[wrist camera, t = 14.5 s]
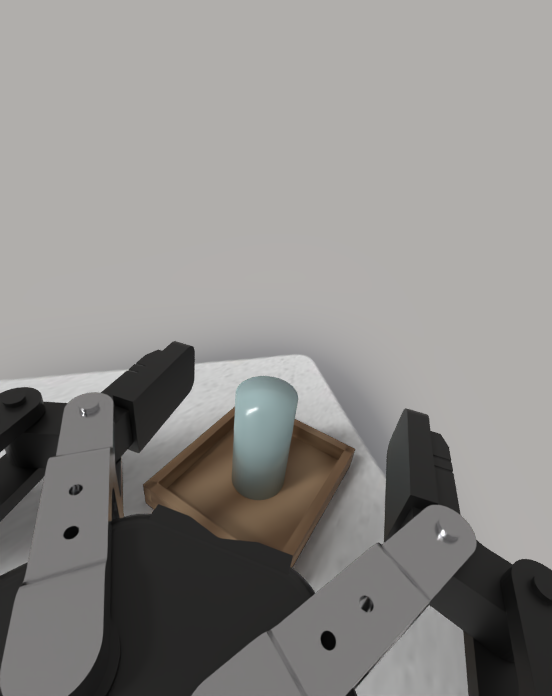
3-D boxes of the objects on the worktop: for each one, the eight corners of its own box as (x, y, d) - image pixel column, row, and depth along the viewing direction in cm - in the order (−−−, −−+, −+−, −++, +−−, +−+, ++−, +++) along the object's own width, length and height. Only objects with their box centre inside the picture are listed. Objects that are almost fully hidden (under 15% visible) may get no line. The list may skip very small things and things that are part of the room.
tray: (145, 502, 37) (143, 484, 35) (246, 411, 50) (247, 395, 49) (273, 600, 30) (276, 583, 29) (349, 465, 44) (355, 448, 42)
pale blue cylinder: (227, 497, 37) (231, 412, 31) (235, 453, 42) (240, 373, 36) (283, 502, 37) (298, 419, 31) (284, 458, 42) (297, 379, 36)
